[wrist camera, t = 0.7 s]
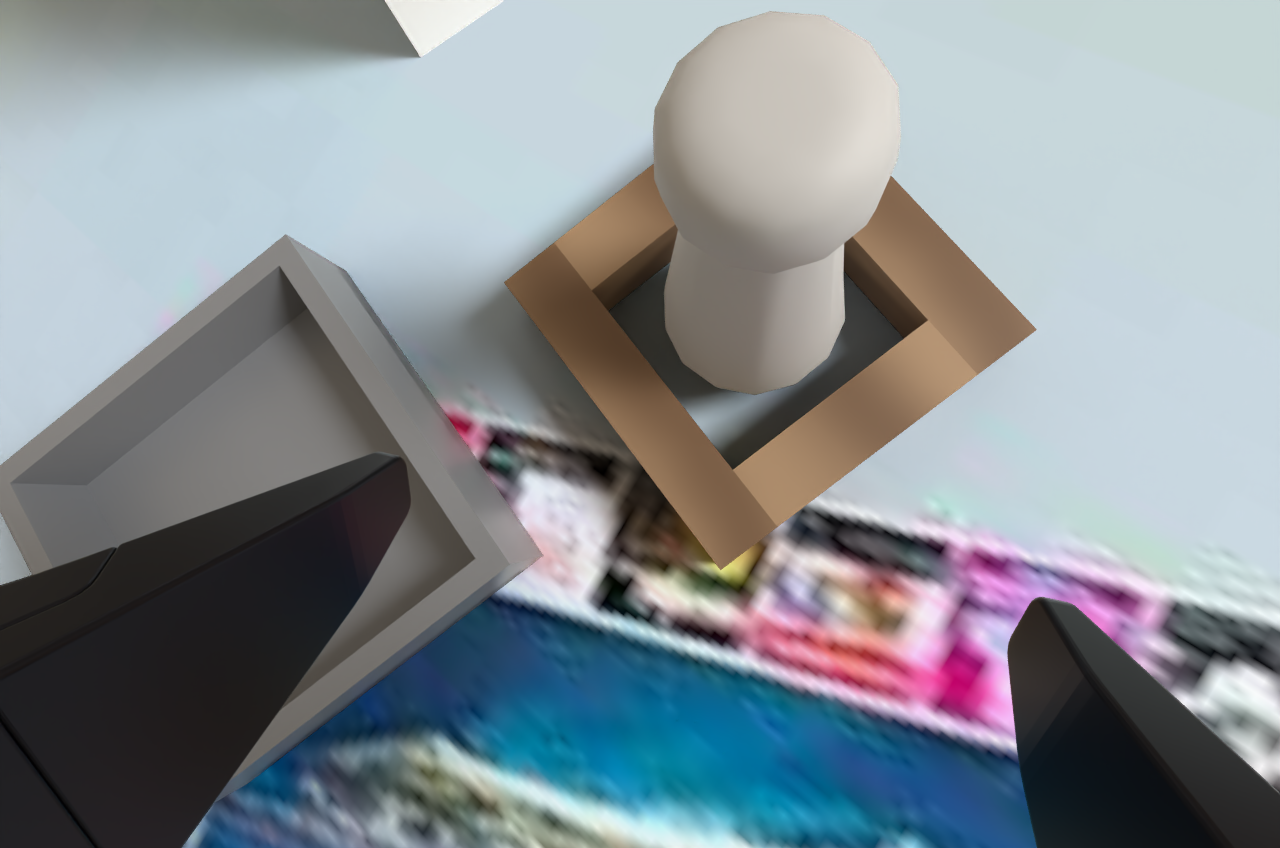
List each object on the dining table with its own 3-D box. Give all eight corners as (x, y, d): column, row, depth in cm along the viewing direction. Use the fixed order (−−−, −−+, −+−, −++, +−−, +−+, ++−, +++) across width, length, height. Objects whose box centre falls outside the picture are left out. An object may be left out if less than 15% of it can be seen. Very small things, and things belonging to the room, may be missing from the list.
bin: (246, 784, 23) (162, 832, 20) (82, 482, 26) (-17, 478, 23) (543, 555, 23) (510, 564, 19) (345, 270, 25) (285, 234, 22)
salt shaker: (639, 342, 23) (527, 147, 11) (733, 220, 23) (735, -120, 11) (768, 437, 22) (817, 348, 9) (867, 309, 22) (1048, 49, 10)
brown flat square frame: (721, 562, 22) (720, 570, 19) (527, 305, 24) (503, 282, 22) (1002, 349, 21) (1036, 329, 19) (777, 107, 24) (782, 61, 21)
